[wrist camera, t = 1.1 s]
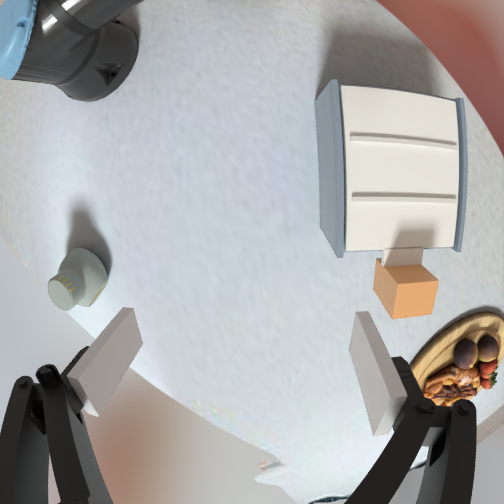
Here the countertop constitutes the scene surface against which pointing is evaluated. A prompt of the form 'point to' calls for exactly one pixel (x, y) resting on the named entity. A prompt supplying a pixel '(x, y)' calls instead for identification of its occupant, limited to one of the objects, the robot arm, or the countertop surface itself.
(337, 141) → the tub
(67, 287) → the air freshener
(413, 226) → the lid
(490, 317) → the wooden plate with food
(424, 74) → the countertop surface
